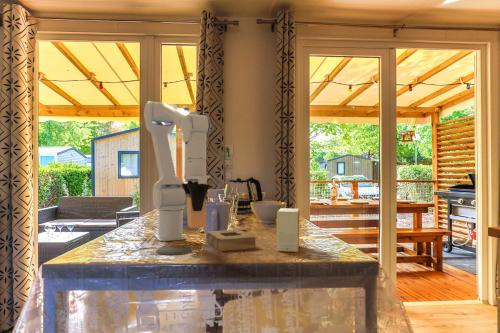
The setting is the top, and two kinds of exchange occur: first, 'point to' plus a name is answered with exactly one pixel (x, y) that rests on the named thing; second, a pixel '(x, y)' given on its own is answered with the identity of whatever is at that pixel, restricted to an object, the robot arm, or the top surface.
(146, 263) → the top surface
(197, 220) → the plug
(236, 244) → the tan square socket
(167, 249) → the coaster
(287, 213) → the small box
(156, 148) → the robot arm
